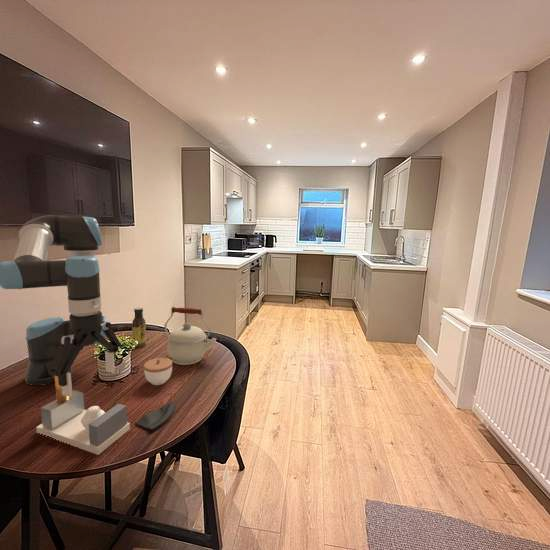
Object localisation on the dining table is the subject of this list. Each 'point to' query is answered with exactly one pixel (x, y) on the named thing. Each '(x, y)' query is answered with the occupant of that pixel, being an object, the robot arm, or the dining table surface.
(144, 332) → the sauce bottle
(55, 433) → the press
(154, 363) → the lidded jar
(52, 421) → the ram
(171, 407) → the curved wedge
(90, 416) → the white steamed bun
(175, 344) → the kettle
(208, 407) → the dining table surface
